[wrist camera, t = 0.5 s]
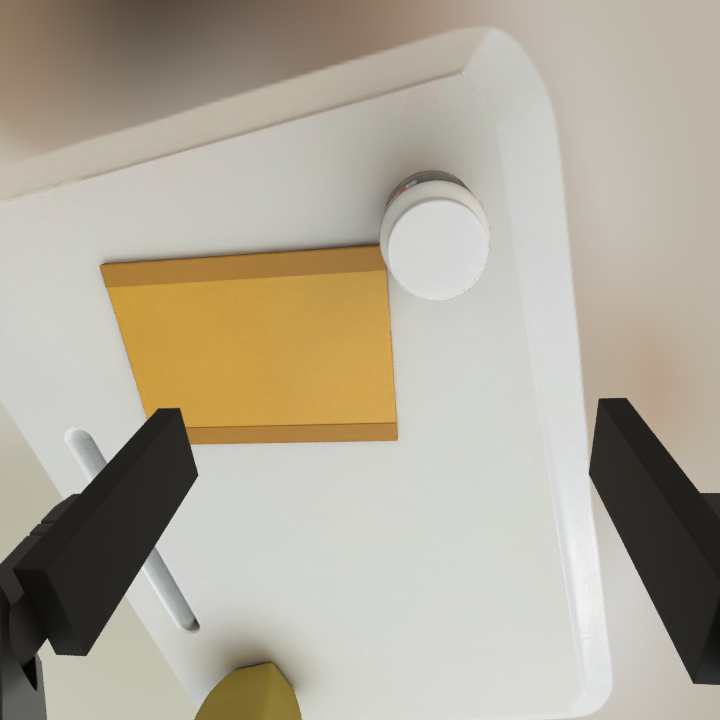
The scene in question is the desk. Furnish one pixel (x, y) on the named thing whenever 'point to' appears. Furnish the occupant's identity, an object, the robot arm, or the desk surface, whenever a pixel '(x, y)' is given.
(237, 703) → the flower pot
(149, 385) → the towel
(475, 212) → the pill bottle
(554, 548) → the desk surface
